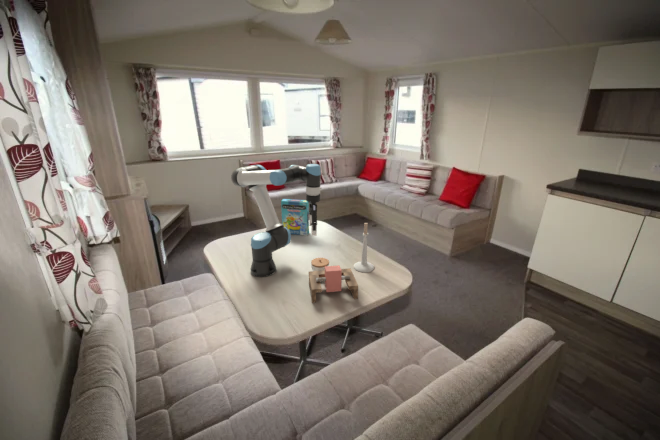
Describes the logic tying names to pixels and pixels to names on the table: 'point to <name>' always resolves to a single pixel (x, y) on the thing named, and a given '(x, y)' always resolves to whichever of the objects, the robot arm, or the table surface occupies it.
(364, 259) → the candlestick
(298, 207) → the game box
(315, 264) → the lidded jar
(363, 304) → the table surface
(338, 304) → the table surface
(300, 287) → the table surface
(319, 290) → the wooden frame with rod
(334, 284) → the salmon red channel block
